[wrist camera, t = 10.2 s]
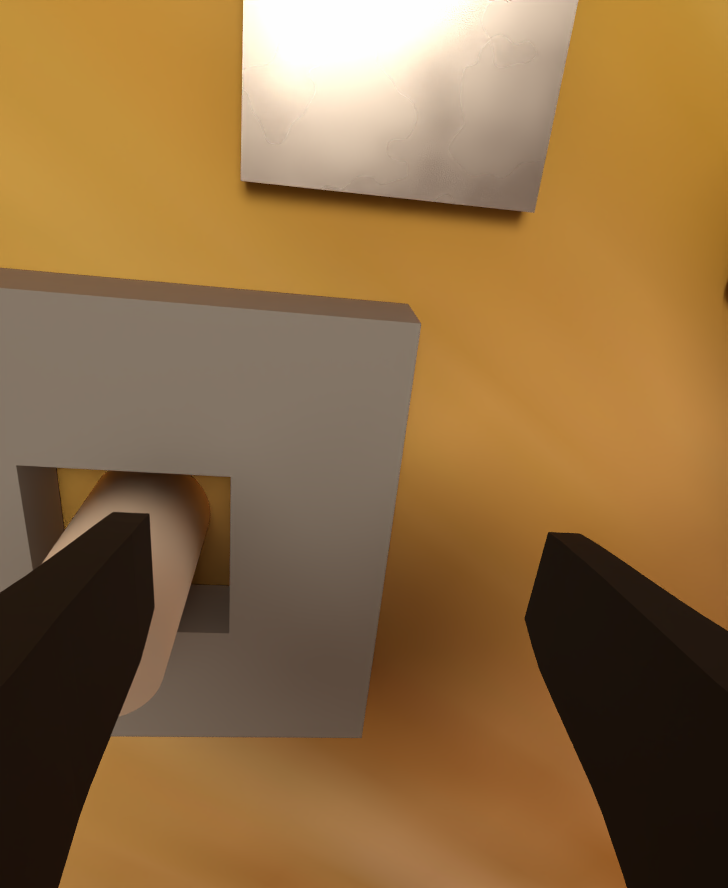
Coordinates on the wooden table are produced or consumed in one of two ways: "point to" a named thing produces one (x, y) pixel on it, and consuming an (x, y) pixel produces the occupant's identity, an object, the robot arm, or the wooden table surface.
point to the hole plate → (223, 474)
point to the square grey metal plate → (403, 96)
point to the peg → (153, 554)
